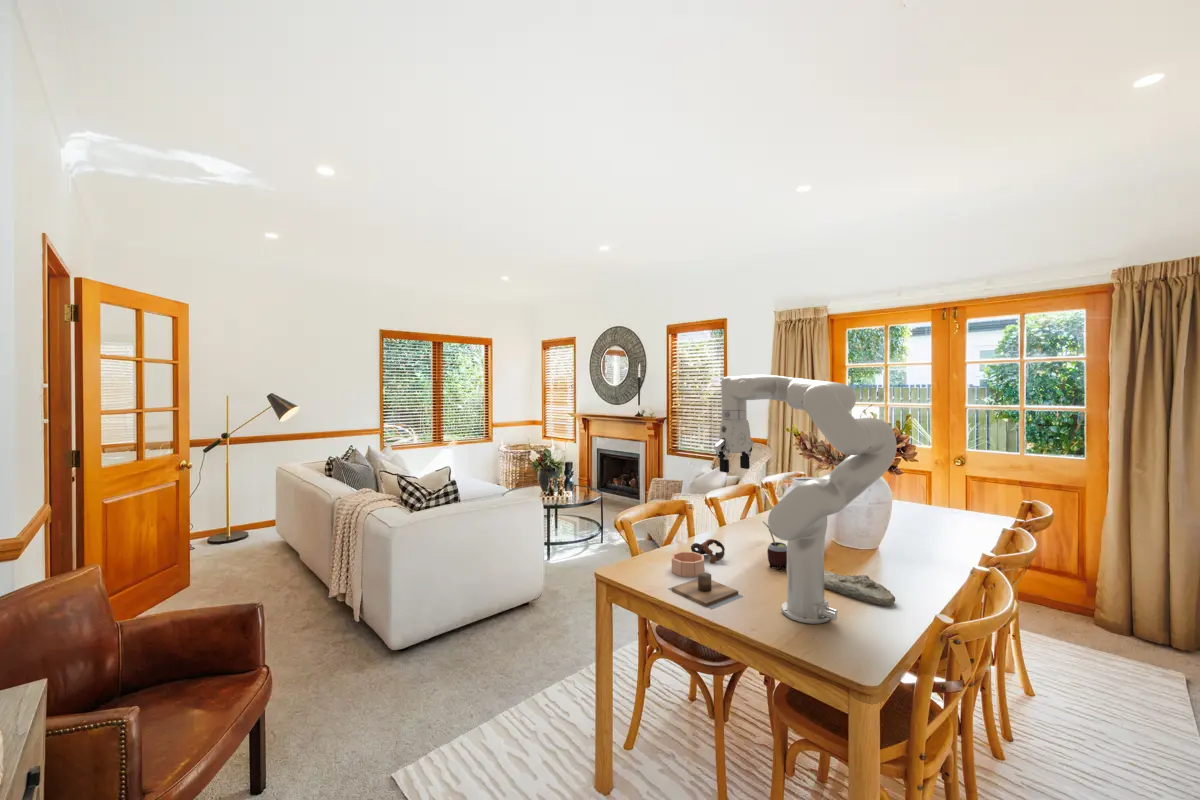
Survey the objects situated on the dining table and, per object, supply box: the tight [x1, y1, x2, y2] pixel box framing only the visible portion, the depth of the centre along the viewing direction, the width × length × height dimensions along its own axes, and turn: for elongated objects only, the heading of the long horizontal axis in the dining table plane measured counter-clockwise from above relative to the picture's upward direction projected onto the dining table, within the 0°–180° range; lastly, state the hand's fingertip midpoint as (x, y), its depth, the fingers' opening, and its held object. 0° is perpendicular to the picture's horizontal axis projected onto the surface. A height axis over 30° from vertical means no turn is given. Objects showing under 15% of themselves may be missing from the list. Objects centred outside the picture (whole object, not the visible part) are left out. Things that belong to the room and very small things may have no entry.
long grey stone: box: [785, 564, 896, 607], centre depth 155 cm, size 35×5×10 cm
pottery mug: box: [690, 538, 726, 564], centre depth 180 cm, size 12×10×8 cm
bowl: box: [671, 551, 705, 578], centre depth 169 cm, size 11×11×5 cm
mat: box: [667, 578, 744, 610], centre depth 151 cm, size 18×14×1 cm
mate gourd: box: [762, 521, 787, 571], centre depth 172 cm, size 8×8×15 cm
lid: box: [671, 571, 739, 608], centre depth 151 cm, size 14×14×5 cm
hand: (734, 470), depth 155 cm, fingers open, 9 cm apart
